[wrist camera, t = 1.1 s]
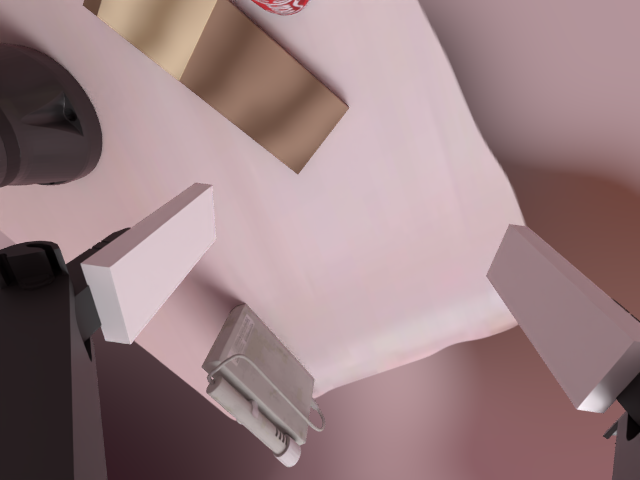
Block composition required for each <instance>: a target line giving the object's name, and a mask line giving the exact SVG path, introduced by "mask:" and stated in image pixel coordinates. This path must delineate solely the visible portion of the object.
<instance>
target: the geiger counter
mask: <svg viewBox="0 0 640 480" xmlns="http://www.w3.org/2000/svg"><path fill="white" fill-rule="evenodd" d="M202 368H203V369H204V370H205V371H206V372H207V373H208V374H209V375H208V377H207V379H208V382H209V383H210V384H209V385H208V387H207V390H206V392H207V394H209V395H210V396H211V397H212V398H213V399H214V400H215V401H217V402H218V403H219V404H220V405H221V406H222V407H223V408H224V409H226V410H227V411H228V412H229V413H230V414H231V415H232V416H234V417H235V418H236V419H237V422H238V423H239V424H243V425H244V426H245V427H246V428H247V429H248V430H250V431H251V432H252V433H253V434H254V435H255V436H256V437H258V438H259V439H260V440H261V441H262V442H263V443H264V444H265V445H267V446H268V447H269V448H270V449H271V450H272V451H273V454H274V456H275V457H276V458H277V459H278V460H279V461H281V462H282V463H283V464H284V465H285V466H287V467H291V466H293V465H294V464H296V462H297V461H298V459H299V457H300V454H301V448H300V445H302V444H304V443H305V442H306V436H307V429H308V424H309V425H310V426H311V427H312V428H313V429H315V430H317V431H322V430H323V429H324V428H325V419H324V416H323V414H322V413H321V411H320V409H319V408H318V404H317V403H316V401H315V400H314V399H313V398H312V393H313V385H314V378H313V377H312V376H311V375H310V374H309V373H308V372H307V371H306V369H305V368H304V367H303V366H302V365H301V364H300V363H299V362H298V361H297V360H296V358H295V357H294V356H293V355H292V354H291V353H290V352H289V351H288V350H287V349H286V347H285V346H284V345H283V344H282V343H281V342H280V341H279V340H278V339H277V337H276V336H275V335H274V334H273V333H272V332H271V331H270V330H269V329H268V328H267V326H266V325H265V324H264V323H263V322H262V321H261V320H260V319H259V318H258V317H257V315H256V314H255V313H254V312H253V311H252V310H251V309H250V308H249V307H248V306H247V304H243V305H239V306H237V307H235V308H234V309H233V310H232V311H231V312H230V314H229V316H228V318H227V320H226V322H225V324H224V325H223V327H222V329H221V331H220V333H219V335H218V337H217V339H216V340H215V342H214V344H213V346H212V348H211V350H210V352H209V354H208V355H207V357H206V359H205V361H204V363H203V365H202ZM211 376H212V377H213V378H214V379H213V380H212V379H211ZM310 407H312V408H313V409H314V410H317V411H318V413H319V414H320V416H321V418H322V421H323V426H322V428H317V427H316V426H314V425H313V424H312V423H311V422H310V421H309V414H310Z"/></svg>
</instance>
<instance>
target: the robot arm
mask: <svg viewBox="0 0 640 480" xmlns="http://www.w3.org/2000/svg"><path fill="white" fill-rule="evenodd" d="M101 151H102V133H101V128H100V123H99V120H98V117H97V114H96V112H95V110H94V108H93V105H92V103H91V102H90V100H89V98H88V97H87V95H86V93H85V92H84V90H83V89H82V88H81V86H80V85H79V84H78V83H77V81H76V80H75V79H74V78H73V77H72V76H71V75H70V74H69V73H68V72H67V71H66V70H65V69H64V68H63V67H62V66H60V65H59V64H58V63H57V62H55V61H54V60H52V59H51V58H49V57H48V56H46V55H44V54H42V53H40V52H38V51H36V50H34V49H31V48H28V47H25V46H20V45H13V44H2V43H0V187H4V186H7V185H31V184H40V185H60V184H65V183H68V182H71V181H74V180H77V179H79V178H82V177H84V176H86V175H87V174H89V173H90V172H91V171H92V170H93V169H94V168H95V166H96V165H97V163H98V161H99V159H100V155H101ZM215 240H216V230H215V215H214V199H213V185H209V184H201V183H195V184H193V185H192V186H190V187H189V188H188V189H186V190H185V191H183V192H182V193H180V194H179V195H178V196H176V197H175V198H173V199H172V200H170V201H169V202H168V203H166V204H165V205H163V206H162V207H160V208H159V209H158V210H156V211H155V212H153V213H152V214H150V215H149V216H148V217H146V218H145V219H143V220H142V221H140V222H139V223H138V224H136V225H135V226H133V227H132V228H125V229H123V230H120V231H117V232H115V233H112V234H111V235H109V236H108V237H106V238H105V239H103V240H102V241H101V242H99V243H97V244H96V245H94V246H93V247H92V249H88V250H87V251H85V252H84V253H82V254H81V255H79V256H78V257H76V258H75V259H73V260H72V261H70V262H69V263H67V264H66V265H65V262H64V259H63V256H62V253H61V250H60V248H59V246H58V244H56V243H53V242H49V241H32V242H25V243H20V244H16V245H13V246H9V247H7V248H4V249H1V250H0V480H107V473H106V462H105V452H104V442H103V432H102V422H101V412H100V402H99V392H98V383H97V372H96V362H95V352H94V343H93V341H92V338H91V335H92V334H93V333H94V332H95V331H96V330H97V329H98V328H99V327H100V326H101V328H102V331H103V334H104V337H105V340H106V341H112V342H118V343H126V344H131V343H132V342H133V341H134V339H135V338H136V337H137V336H138V335H139V333H140V332H141V331H142V330H143V328H144V327H145V326H146V325H147V323H148V322H149V321H150V320H151V319H152V317H153V316H154V315H155V314H156V312H157V311H158V310H159V309H160V307H161V306H162V305H163V304H164V303H165V301H166V300H167V299H168V298H169V296H170V295H171V294H172V293H173V291H174V290H175V289H176V288H177V287H178V285H179V284H180V283H181V282H182V280H183V279H184V278H185V277H186V276H187V274H188V273H189V272H190V271H191V269H192V268H193V267H194V266H195V264H196V263H197V262H198V261H199V260H200V258H201V257H202V256H203V255H204V253H205V252H206V251H207V250H208V248H209V247H210V246H211V245H212V244H213V242H214V241H215ZM486 276H487V278H488V279H489V281H490V282H491V284H492V285H493V287H494V288H495V290H496V291H497V293H498V294H499V296H500V297H501V299H502V300H503V302H504V303H505V304H506V306H507V307H508V309H509V310H510V312H511V313H512V315H513V316H514V318H515V319H516V321H517V322H518V324H519V325H520V326H521V328H522V330H523V331H524V332H525V334H526V335H527V337H528V338H529V340H530V341H531V343H532V344H533V346H534V347H535V349H536V350H537V352H538V353H539V355H540V356H541V358H542V359H543V360H544V362H545V363H546V365H547V366H548V368H549V369H550V371H551V372H552V374H553V375H554V377H555V378H556V380H557V381H558V382H559V384H560V385H561V387H562V389H563V390H564V391H565V393H566V394H567V396H568V397H569V398H570V400H571V402H572V403H573V405H574V406H575V408H576V409H578V410H585V411H592V412H599V413H604V412H605V411H606V410H607V409H608V408H609V407H610V406H611V405H612V404H613V402H614V401H615V400H616V399H617V400H618V402H619V403H620V404H621V405H622V406H623V408H624V409H625V410H626V412H625V413H624V414H623V415H622V416H621V417H620V418H619V419H618V420H617V421H616V422H615V423H614V424H613V425H612V426H611V427H610V428H609V429H608V430H607V431H606V432H605V434H604V435H603V437H605V438H606V439H608V438H610V437H611V436H612V435H617V437H616V443H615V444H616V447H615V457H614V466H613V476H612V480H640V321H639V320H638V319H637V318H635V317H634V316H633V315H631V314H629V312H628V311H627V310H626V309H625V308H623V307H622V306H621V305H620V304H619V303H618V302H617V301H615V300H614V299H612V298H610V297H609V296H608V295H607V294H606V293H604V292H603V291H602V290H601V289H599V288H598V287H597V286H596V285H595V284H594V283H593V282H591V281H590V280H589V279H588V278H587V277H586V276H584V275H583V274H582V273H581V272H580V271H579V270H577V269H576V268H575V267H574V266H573V265H572V264H570V263H569V262H568V261H567V260H566V259H565V258H563V257H562V256H561V255H560V254H559V253H558V252H556V251H555V250H554V249H553V248H552V247H551V246H549V245H548V244H547V243H546V242H545V241H543V240H542V239H541V238H540V237H539V236H538V235H536V234H535V233H534V232H533V231H532V230H531V229H529V228H528V227H527V226H519V225H512V224H509V226H508V229H507V231H506V233H505V235H504V237H503V240H502V242H501V244H500V246H499V249H498V251H497V253H496V255H495V257H494V260H493V262H492V264H491V266H490V268H489V271H488V273H487V275H486Z"/></svg>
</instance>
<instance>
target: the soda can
mask: <svg viewBox="0 0 640 480" xmlns="http://www.w3.org/2000/svg"><path fill="white" fill-rule="evenodd" d="M252 1H253V2H254V3H256V4H257V5H259V6H260V7H262V8H263V9H264V10H267V11H269V12H271V13H275V14H279V15H292V14H295V13H297V12H299V11H301V10H302V9H303V8H305V7H306V6H307V5H308V4H309V2H310V1H311V0H252Z"/></svg>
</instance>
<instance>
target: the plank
mask: <svg viewBox="0 0 640 480" xmlns="http://www.w3.org/2000/svg"><path fill="white" fill-rule="evenodd" d="M83 6H85V7H86V8H87V9H88V10H90V11H91V12H92V13H93V14H95V15H96V16H97V17H98V18H99V19H101V20H102V21H103V22H104V23H106V24H107V25H108V26H109V27H111V28H112V29H113V30H114V31H116V32H117V33H118V34H120V35H121V36H122V37H123V38H125V39H126V40H127V41H128V42H130V43H131V44H132V45H134V46H135V47H136V48H137V49H139V50H140V51H141V52H142V53H144V54H145V55H146V56H148V57H149V58H150V59H151V60H153V61H154V62H155V63H156V64H158V65H159V66H160V67H162V68H163V69H164V70H165V71H167V72H168V73H169V74H170V75H172V76H173V77H174V78H175V79H177V80H178V81H180V82H181V83H182V84H184V85H185V86H186V87H187V88H189V89H190V90H191V91H193V92H194V93H195V94H196V95H198V96H199V97H200V98H201V99H203V100H204V101H205V102H206V103H208V104H209V105H210V106H212V107H213V108H214V109H215V110H217V111H218V112H219V113H220V114H222V115H223V116H224V117H226V118H227V119H228V120H229V121H231V122H232V123H233V124H234V125H236V126H237V127H238V128H240V129H241V130H242V131H243V132H245V133H246V134H247V135H248V136H250V137H251V138H252V139H253V140H255V141H256V142H257V143H259V144H260V145H261V146H262V147H264V148H265V149H266V150H267V151H269V152H270V153H271V154H273V155H274V156H275V157H276V158H278V159H279V160H280V161H281V162H283V163H284V164H285V165H287V166H288V167H289V168H290V169H292V170H293V171H294V172H295V173H297V174H299V172H300V171H301V170H302V168H303V167H304V166H305V165H306V163H307V162H308V161H309V159H310V158H311V157H312V156H313V154H314V153H315V152H316V150H317V149H318V148H319V146H320V145H321V144H322V143H323V141H324V140H325V139H326V137H327V136H328V135H329V133H330V132H331V131H332V130H333V128H334V127H335V126H336V124H337V123H338V122H339V121H340V119H341V118H342V117H343V115H344V114H345V113H346V111H347V110H348V109H349V107H348V106H347V105H346V104H345V103H344V102H343V101H342V100H341V99H339V98H338V97H337V96H336V95H335V94H334V93H333V92H332V91H330V90H329V89H328V88H327V87H326V86H325V85H324V84H323V83H321V82H320V81H319V80H318V79H317V78H316V77H315V76H314V75H313V74H311V73H310V72H309V71H308V70H307V69H306V68H305V67H304V66H302V65H301V64H300V63H299V62H298V61H297V60H296V59H295V58H293V57H292V56H291V55H290V54H289V53H288V52H287V51H286V50H284V49H283V48H282V47H281V46H280V45H279V44H278V43H277V42H275V41H274V40H273V39H272V38H271V37H270V36H269V35H268V34H266V33H265V32H264V31H263V30H262V29H261V28H260V27H259V26H257V25H256V24H255V23H254V22H253V21H252V20H251V19H250V18H248V17H247V16H246V15H245V14H244V13H243V12H242V11H241V10H239V9H238V8H237V7H236V6H235V5H234V4H233V3H232V2H230V1H229V0H84V3H83Z"/></svg>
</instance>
